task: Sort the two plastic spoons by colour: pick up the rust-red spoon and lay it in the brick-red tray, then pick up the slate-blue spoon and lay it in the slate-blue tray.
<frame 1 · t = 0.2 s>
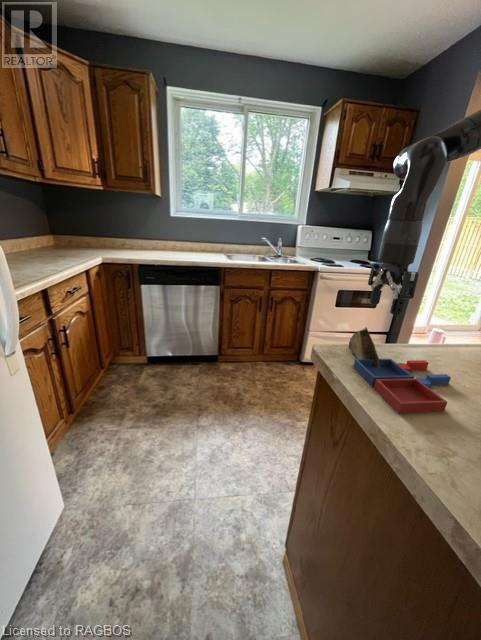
hand: (383, 308, 68), 16 cm above the countertop, tool pointing down, fingers open, 8 cm apart
red tray: (406, 399, 59), on the countertop
red spoon: (410, 368, 72), on the countertop
rock: (362, 358, 76), on the countertop, touching blue tray
blue spoon: (431, 383, 66), on the countertop
blue tray: (381, 375, 68), on the countertop
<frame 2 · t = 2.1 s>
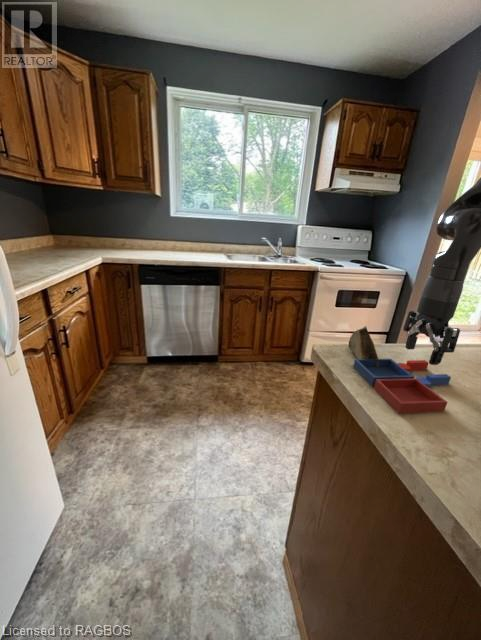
hand: (420, 356, 71), 4 cm above the countertop, tool pointing down, fingers open, 8 cm apart
nothing on the countertop moved.
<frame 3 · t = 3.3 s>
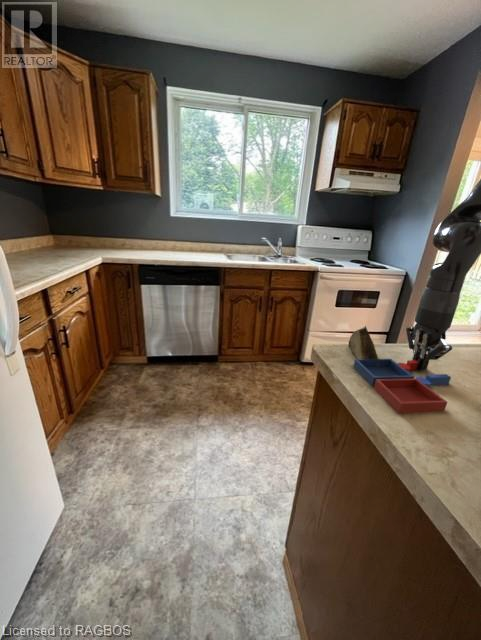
hand: (417, 368, 72), 0 cm above the countertop, tool pointing down, fingers closed on red spoon, 1 cm apart
red spoon: (411, 368, 72), on the countertop, touching gripper
everything else where it was.
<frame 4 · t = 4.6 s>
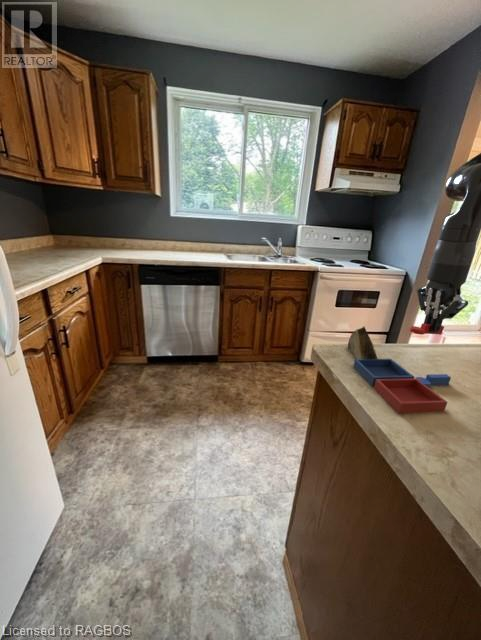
hand: (430, 330, 69), 11 cm above the countertop, tool pointing down, fingers closed on red spoon, 1 cm apart
red spoon: (425, 332, 69), point 11 cm above the countertop, touching gripper
rock: (361, 357, 77), on the countertop, touching blue tray
everything else where it was.
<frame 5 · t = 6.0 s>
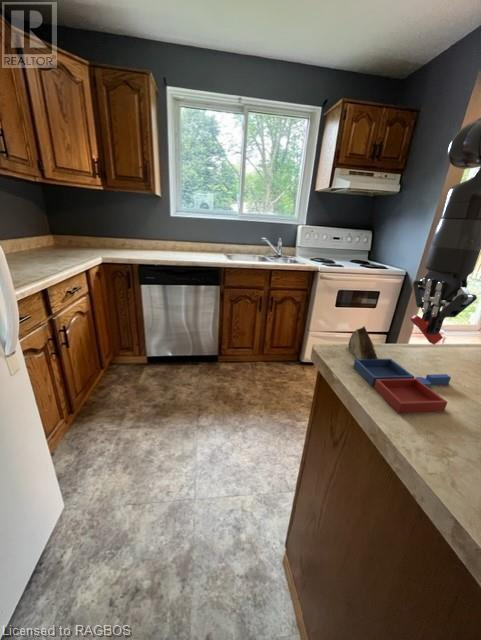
hand: (428, 332, 56), 15 cm above the countertop, tool pointing down, fingers closed on red spoon, 1 cm apart
red spoon: (422, 331, 56), point 15 cm above the countertop, tilted 43°, touching gripper
everything else where it was.
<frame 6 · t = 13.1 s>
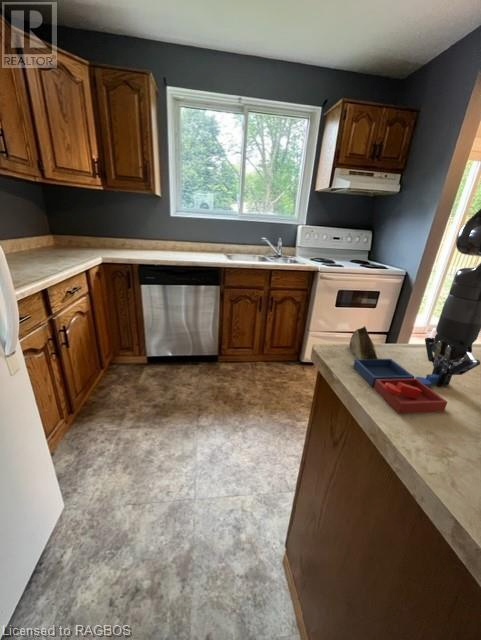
hand: (438, 383, 66), 0 cm above the countertop, tool pointing down, fingers closed on blue spoon, 1 cm apart
red spoon: (400, 393, 58), point 2 cm above the countertop, tilted 18°, touching red tray
blue spoon: (431, 383, 66), on the countertop, touching gripper
everything else where it was.
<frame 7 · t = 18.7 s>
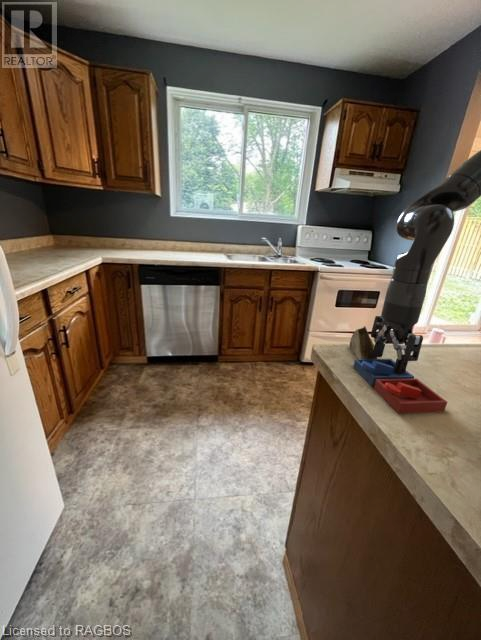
hand: (387, 364, 67), 4 cm above the countertop, tool pointing down, fingers open, 8 cm apart
rock: (362, 357, 77), on the countertop, touching blue tray, gripper
blue spoon: (375, 370, 67), point 2 cm above the countertop, tilted 18°, touching blue tray
everything else where it was.
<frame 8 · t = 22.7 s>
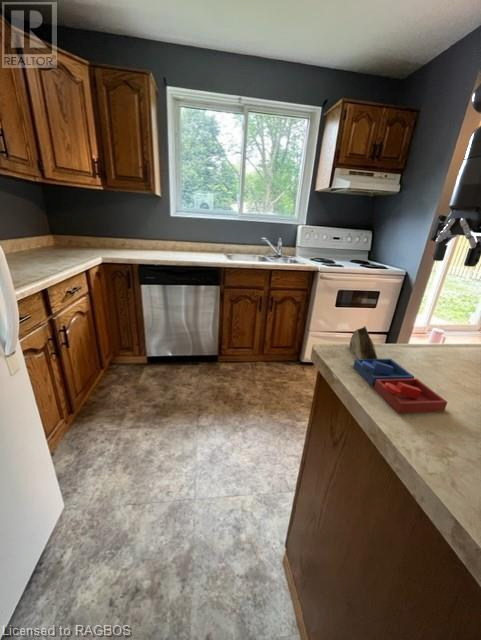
hand: (452, 263, 62), 28 cm above the countertop, tool pointing down, fingers open, 8 cm apart
rock: (362, 357, 77), on the countertop, touching blue tray
everything else where it was.
at the end: red spoon inside the target area in the red tray (2.1 cm from its centre), point 1.6 cm above the red tray's base; blue spoon inside the target area in the blue tray (2.0 cm from its centre), point 1.6 cm above the blue tray's base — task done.
